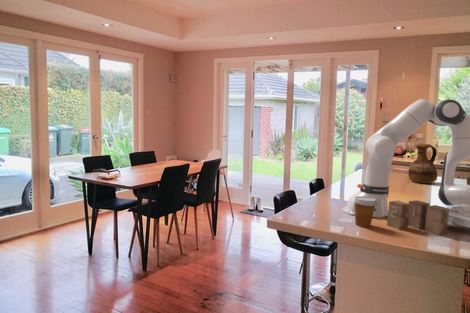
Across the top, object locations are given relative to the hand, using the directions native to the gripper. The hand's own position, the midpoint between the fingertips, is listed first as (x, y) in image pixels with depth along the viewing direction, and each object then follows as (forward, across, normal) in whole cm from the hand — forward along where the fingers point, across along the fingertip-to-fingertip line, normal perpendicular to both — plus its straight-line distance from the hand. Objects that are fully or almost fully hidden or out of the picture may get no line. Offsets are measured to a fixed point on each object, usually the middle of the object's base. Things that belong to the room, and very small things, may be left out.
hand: (441, 219), depth 161 cm
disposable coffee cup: (+26, -19, +6) cm, 33 cm away
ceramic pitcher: (-112, -83, +6) cm, 140 cm away
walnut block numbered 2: (+12, -12, +6) cm, 18 cm away
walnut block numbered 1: (+3, -9, +6) cm, 11 cm away
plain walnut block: (+3, 0, +6) cm, 6 cm away
